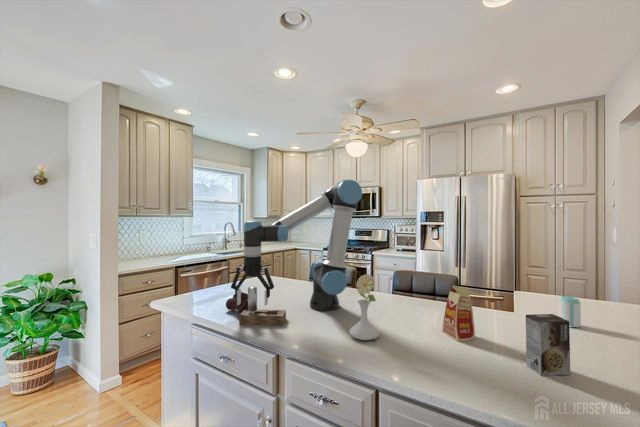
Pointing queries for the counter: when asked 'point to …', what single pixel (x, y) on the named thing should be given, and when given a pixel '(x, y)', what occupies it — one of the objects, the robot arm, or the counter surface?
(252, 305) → the steel peg
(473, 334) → the milk carton
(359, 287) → the flower in vase
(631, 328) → the counter surface
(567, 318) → the can
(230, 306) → the dark brown lumpy piece
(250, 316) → the keyhole block
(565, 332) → the grey cardboard box
